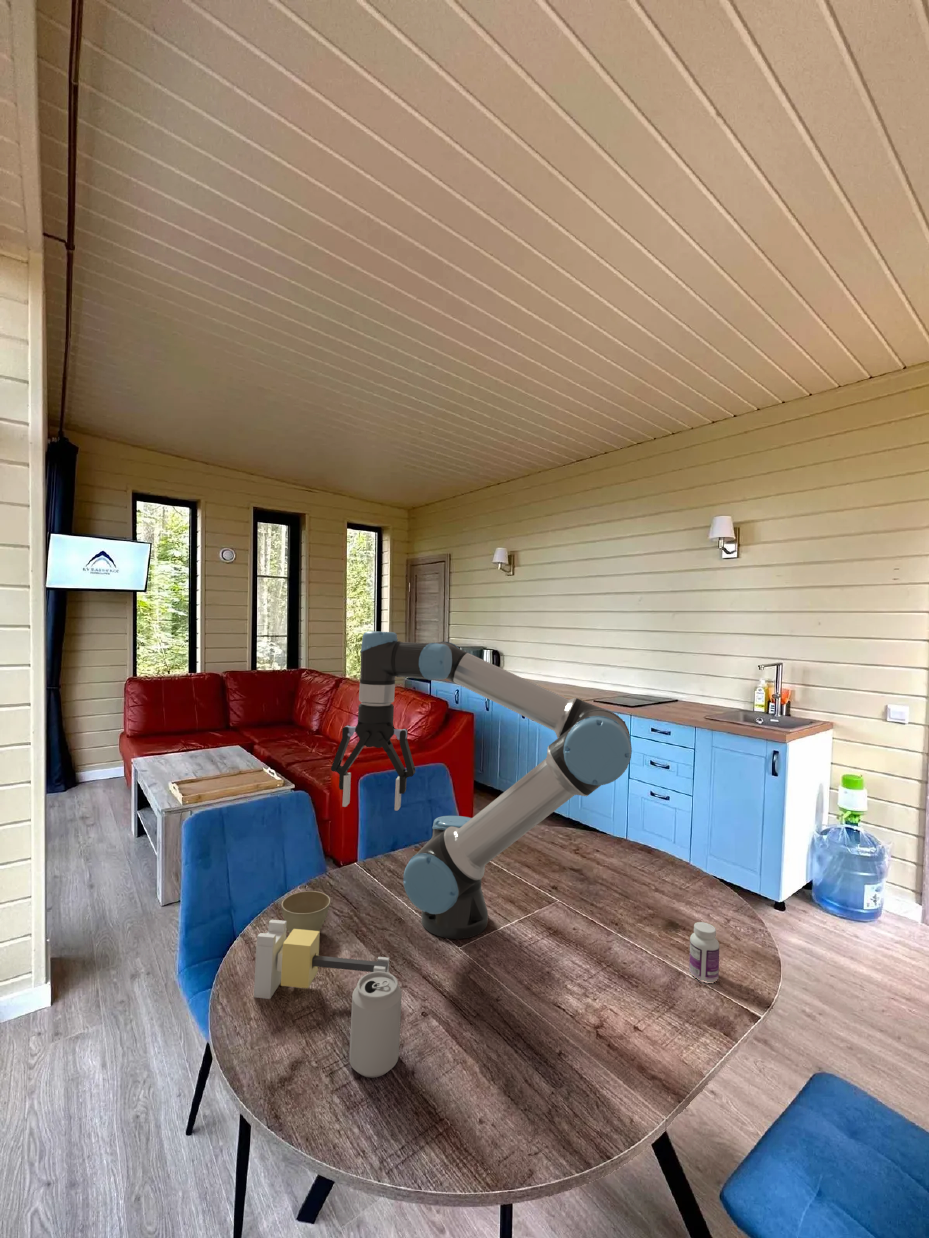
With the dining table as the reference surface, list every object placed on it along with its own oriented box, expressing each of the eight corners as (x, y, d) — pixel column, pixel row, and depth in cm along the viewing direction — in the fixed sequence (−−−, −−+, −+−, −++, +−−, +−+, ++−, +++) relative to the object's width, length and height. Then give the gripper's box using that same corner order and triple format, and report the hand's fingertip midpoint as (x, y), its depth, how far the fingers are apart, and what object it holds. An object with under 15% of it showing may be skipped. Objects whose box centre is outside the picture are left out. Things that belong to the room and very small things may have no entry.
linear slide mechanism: (389, 987, 100) (391, 929, 101) (381, 1010, 94) (384, 948, 95) (268, 975, 102) (271, 918, 103) (253, 997, 96) (256, 936, 97)
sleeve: (317, 971, 101) (319, 931, 101) (308, 988, 96) (310, 945, 96) (291, 968, 101) (293, 928, 102) (280, 985, 97) (282, 943, 97)
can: (352, 1043, 87) (355, 967, 87) (399, 1042, 87) (402, 966, 88) (345, 1082, 79) (349, 999, 80) (397, 1081, 80) (401, 998, 80)
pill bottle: (716, 971, 110) (718, 923, 110) (719, 987, 105) (721, 936, 105) (687, 964, 112) (689, 917, 112) (689, 980, 107) (691, 930, 107)
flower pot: (315, 952, 110) (317, 916, 110) (270, 944, 112) (272, 909, 112) (336, 926, 120) (338, 893, 120) (294, 919, 122) (296, 887, 122)
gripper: (432, 703, 120) (427, 804, 119) (329, 698, 122) (325, 797, 121) (426, 708, 112) (422, 816, 112) (318, 702, 114) (313, 808, 114)
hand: (371, 806), depth 117 cm, fingers open, 10 cm apart
